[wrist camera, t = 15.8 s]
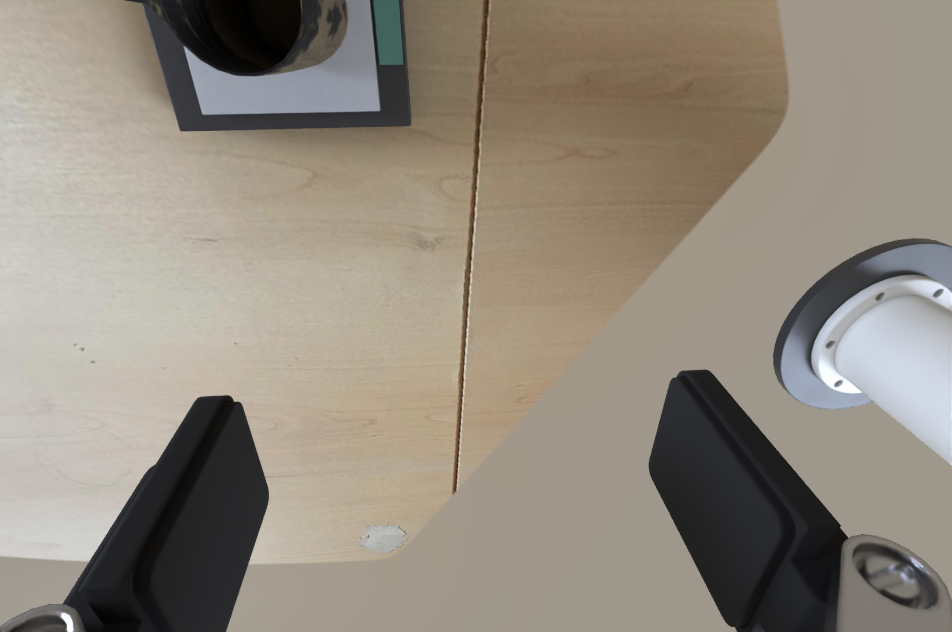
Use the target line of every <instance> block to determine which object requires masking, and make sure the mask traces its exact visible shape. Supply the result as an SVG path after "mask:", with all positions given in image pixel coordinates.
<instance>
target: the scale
mask: <svg viewBox="0 0 952 632" xmlns="http://www.w3.org/2000/svg"><path fill="white" fill-rule="evenodd" d="M346 2H347V7H348V26H347V32H346V35H345V38H344V40H343V42H342V44H341V46H340V48H339V49H338V50H337V51H336V52H335V54H334V55H333V56H331V57H330V58H328V59H327V60H325V61H324V62H322V63H320V64H318V65H315V66H312V67H309V68H305V69H301V70H297V71H293V72H287V73H281V74H275V75H265V76H255V77H253V76H235V75H232V74H228V73H225V72H222V71H218V70H216V69H215V68H213V67H211V66H209V65H208V64H206V63H204V62H202V61H201V60H199V59H198V58H197V57H196V56H195V55H194V54H193V53H191V52H190V51H189V50H188V49H187V48H186V47H185V46H184V45H183V44H182V43H181V42H180V40H179V39H178V38H177V36H176V35H175V34H174V32H173V31H172V30H171V28H170V27H168V26H167V25H166V24H165V23H164V22H163V21H162V20H161V19H160V18H159V17H158V15H157V14H156V13H155V12H154V11H153V10H152V9H151V8H150V7H149V6H148V5H147V4H143V3H142V6H143V10H144V13H145V16H146V19H147V23H148V26H149V29H150V33H151V36H152V39H153V43H154V46H155V49H156V53H157V56H158V59H159V62H160V66H161V69H162V72H163V76H164V79H165V82H166V86H167V89H168V92H169V96H170V99H171V102H172V105H173V109H174V112H175V115H176V119H177V122H178V125H179V129H180V131H218V130H260V129H303V128H346V127H389V126H411V111H410V96H409V82H408V67H407V53H406V38H405V23H404V9H403V0H346Z"/></svg>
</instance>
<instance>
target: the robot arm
mask: <svg viewBox="0 0 952 632" xmlns="http://www.w3.org/2000/svg"><path fill="white" fill-rule="evenodd" d="M811 363H812V367H813V371H814V373H815V374H816V376H817V377H818V378H819V379H820V380H821V381H822V382H823V383H824V384H825V385H826V386H828V387H829V388H831V389H833V390H835V391H839V392H842V393H863V394H865V395H866V396H867V397H868V398H870V399H871V400H872V401H873V402H874V403H876V404H877V405H878V406H879V407H881V408H882V409H883V410H884V411H886V412H887V413H888V414H889V415H891V416H892V417H893V418H894V419H895V420H897V421H898V422H899V423H900V424H902V425H903V426H904V427H905V428H906V429H908V430H909V431H910V432H911V433H913V434H914V435H915V436H916V437H917V438H919V439H920V440H921V441H922V442H924V443H925V444H926V445H927V446H929V447H930V448H931V449H932V450H934V451H935V452H936V453H937V454H938V455H940V456H941V457H942V458H943V459H945V460H946V461H947V462H948V463H949V464H951V465H952V292H951V291H950V290H949V289H948V287H946V286H945V285H943V284H942V283H940V282H938V281H936V280H934V279H931V278H929V277H927V276H921V275H902V276H897V277H893V278H889V279H886V280H883V281H881V282H878V283H875V284H873V285H871V286H869V287H867V288H866V289H864V290H862V291H860V292H859V293H857V294H856V295H854V296H853V297H851V298H850V299H848V300H847V301H846V302H845V303H844V304H843V305H841V306H840V307H839V308H838V309H837V310H836V311H835V312H834V313H833V314H832V315H831V317H830V318H829V319H828V320H827V321H826V323H825V324H824V326H823V327H822V329H821V330H820V332H819V334H818V336H817V338H816V340H815V342H814V346H813V350H812V356H811ZM649 472H650V475H651V478H652V480H653V482H654V484H655V486H656V488H657V490H658V492H659V494H660V496H661V498H662V500H663V502H664V504H665V506H666V508H667V509H668V511H669V513H670V515H671V517H672V519H673V521H674V523H675V525H676V527H677V529H678V531H679V533H680V535H681V537H682V539H683V541H684V543H685V545H686V546H687V549H688V551H689V552H690V554H691V556H692V558H693V560H694V562H695V564H696V566H697V568H698V570H699V572H700V574H701V576H702V578H703V580H704V582H705V584H706V586H707V588H708V590H709V592H710V593H711V596H712V598H713V599H714V601H715V603H716V605H717V607H718V609H719V611H720V613H721V615H722V617H723V619H724V620H725V622H726V623H727V624H728V625H729V626H731V627H735V628H736V630H737V632H952V601H951V597H950V594H949V592H948V589H947V586H946V585H945V583H944V582H943V581H942V579H941V578H940V576H939V575H938V574H937V572H936V571H934V570H933V569H932V568H931V567H930V566H929V565H928V564H927V563H926V562H925V561H924V560H923V559H921V558H920V557H918V556H917V555H916V554H914V553H913V552H911V551H910V550H909V549H907V548H905V547H903V546H901V545H899V544H897V543H895V542H893V541H890V540H888V539H885V538H882V537H878V536H872V535H864V534H861V535H856V536H852V537H850V538H848V537H847V536H846V534H845V533H844V532H843V531H842V530H841V529H840V526H841V525H840V524H839V523H838V522H837V520H836V519H835V518H834V517H833V516H832V514H831V513H830V512H829V511H828V510H827V509H826V507H825V506H824V505H823V504H822V503H821V501H820V500H819V499H818V498H817V497H816V496H815V495H814V493H813V492H812V491H811V490H810V488H809V487H808V486H807V485H806V484H805V483H804V481H803V480H802V479H801V478H800V477H799V476H798V474H797V473H796V472H795V471H794V470H793V468H792V467H791V466H790V465H789V464H788V462H787V461H786V460H785V459H784V458H783V457H782V456H781V454H780V453H779V452H778V451H777V450H776V448H775V447H774V446H773V445H772V444H771V442H770V441H769V440H768V439H767V438H766V436H765V435H764V434H763V433H762V432H761V431H760V429H759V428H758V427H757V426H756V425H755V424H754V423H753V421H752V420H751V419H750V418H749V416H748V415H747V414H746V413H745V412H744V410H742V408H741V407H740V406H739V405H738V403H737V402H736V401H735V400H734V399H733V397H732V396H731V395H730V394H729V393H728V392H727V390H726V389H725V388H724V387H723V386H722V384H721V383H720V382H719V381H718V380H717V379H716V377H715V376H714V375H713V374H712V373H711V372H710V371H708V370H689V371H681V372H679V374H678V375H677V377H676V378H672V380H671V381H670V384H669V388H668V391H667V395H666V399H665V403H664V406H663V410H662V414H661V418H660V422H659V425H658V429H657V433H656V437H655V441H654V444H653V448H652V452H651V456H650V460H649ZM268 500H269V490H268V486H267V483H266V479H265V476H264V473H263V470H262V467H261V463H260V460H259V457H258V454H257V451H256V447H255V444H254V441H253V438H252V435H251V431H250V428H249V425H248V422H247V419H246V415H245V412H244V409H243V406H242V404H241V403H240V402H234V401H233V398H232V397H231V396H228V395H225V396H206V397H199V398H197V400H196V401H195V402H194V404H193V405H192V407H191V409H190V410H189V412H188V413H187V415H186V417H185V418H184V420H183V421H182V423H181V425H180V426H179V428H178V429H177V431H176V433H175V434H174V436H173V438H172V439H171V441H170V442H169V444H168V446H167V447H166V449H165V450H164V452H163V454H162V455H161V457H160V458H159V460H158V462H157V463H156V465H154V466H152V467H151V468H149V470H148V471H147V472H146V473H145V475H144V476H143V478H142V479H141V481H140V482H139V484H138V486H137V487H136V489H135V490H134V492H133V493H132V495H131V497H130V498H129V500H128V501H127V503H126V505H125V506H124V508H123V509H122V511H121V512H120V514H119V516H118V517H117V519H116V520H115V522H114V524H113V525H112V527H111V528H110V530H109V531H108V533H107V535H106V536H105V538H104V539H103V541H102V543H101V544H100V546H99V547H98V549H97V550H96V552H95V554H94V555H93V557H92V558H91V560H90V562H89V563H88V565H87V566H86V568H85V569H84V571H83V573H82V574H81V576H80V577H79V579H78V581H77V582H76V584H75V585H74V587H73V588H72V590H71V592H70V593H69V595H68V596H67V598H66V600H65V601H64V603H63V604H48V605H45V606H41V607H38V608H33V609H31V610H28V611H26V612H24V613H22V614H20V615H18V616H16V617H14V618H12V619H10V620H9V621H7V622H6V623H4V624H3V625H2V626H0V632H226V630H227V627H228V624H229V621H230V618H231V615H232V611H233V608H234V605H235V602H236V600H237V596H238V593H239V590H240V587H241V584H242V581H243V578H244V575H245V572H246V569H247V566H248V563H249V560H250V557H251V554H252V551H253V548H254V545H255V542H256V539H257V536H258V533H259V530H260V527H261V524H262V521H263V518H264V515H265V512H266V509H267V505H268Z"/></svg>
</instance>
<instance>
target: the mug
mask: <svg viewBox="0 0 952 632" xmlns="http://www.w3.org/2000/svg"><path fill="white" fill-rule="evenodd" d="M126 1H132V2H138V3H143V4H147V5H148V6H149V7H150V8H151V9H152V10H153V11H154V12H155V13H156V14H157V15H158V17H159V18H160V19H161V20H162V21H163V22H164V23H165V24H166V25H167V26H168V27H170V28H171V30H172V31H173V32H174V34H175V35H176V36H177V38H178V39H179V40H180V42H181V43H182V44H183V45H184V46H185V47H186V48H187V49H188V50H189V51H190V52H191V53H193V54H194V55H195V56H196V57H197V58H198V59H199V60H201V61H202V62H204V63H206V64H208V65H209V66H211V67H213V68H215V69H216V70H218V71H222V72H225V73H228V74H232V75H235V76H253V77H255V76H265V75H275V74H281V73H287V72H293V71H297V70H301V69H305V68H309V67H312V66H315V65H318V64H320V63H322V62H324V61H325V60H327V59H328V58H330V57H331V56H333V55H334V54H335V52H336V51H337V50H338V49H339V48H340V46H341V44H342V42H343V40H344V38H345V35H346V32H347V26H348V7H347V2H346V0H126Z"/></svg>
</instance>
